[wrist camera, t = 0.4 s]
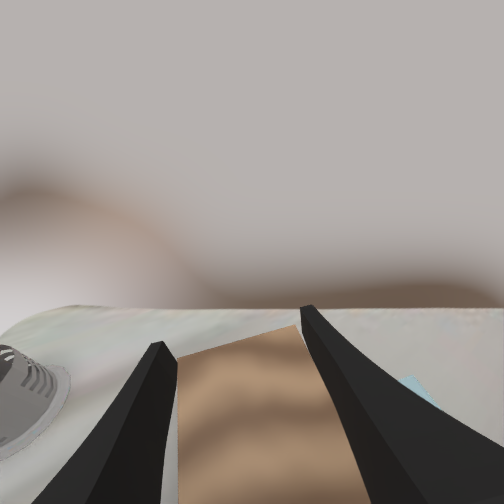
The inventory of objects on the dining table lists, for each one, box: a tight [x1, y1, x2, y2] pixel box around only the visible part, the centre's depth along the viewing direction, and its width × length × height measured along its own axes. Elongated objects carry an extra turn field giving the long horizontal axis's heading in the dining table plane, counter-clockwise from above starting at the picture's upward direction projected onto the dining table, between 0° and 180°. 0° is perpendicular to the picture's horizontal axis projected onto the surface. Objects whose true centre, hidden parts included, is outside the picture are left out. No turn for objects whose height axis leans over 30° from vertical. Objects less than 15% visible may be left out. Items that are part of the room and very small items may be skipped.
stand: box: [177, 325, 371, 504], centre depth 22 cm, size 18×16×4 cm
